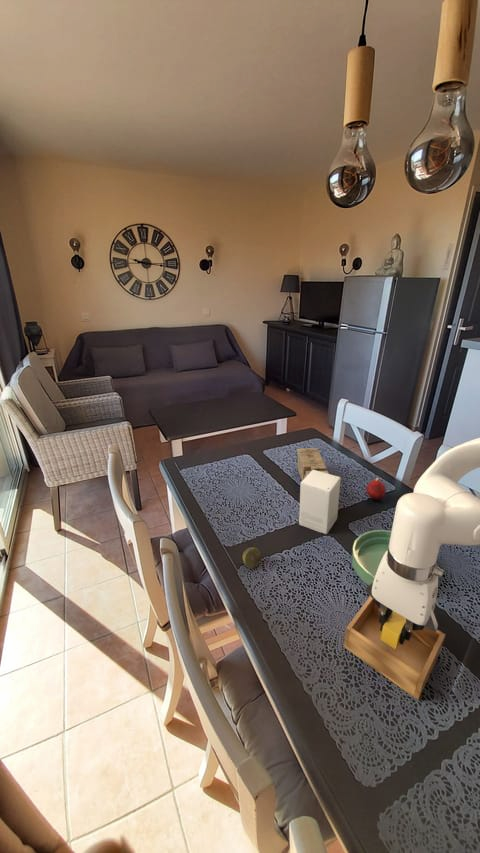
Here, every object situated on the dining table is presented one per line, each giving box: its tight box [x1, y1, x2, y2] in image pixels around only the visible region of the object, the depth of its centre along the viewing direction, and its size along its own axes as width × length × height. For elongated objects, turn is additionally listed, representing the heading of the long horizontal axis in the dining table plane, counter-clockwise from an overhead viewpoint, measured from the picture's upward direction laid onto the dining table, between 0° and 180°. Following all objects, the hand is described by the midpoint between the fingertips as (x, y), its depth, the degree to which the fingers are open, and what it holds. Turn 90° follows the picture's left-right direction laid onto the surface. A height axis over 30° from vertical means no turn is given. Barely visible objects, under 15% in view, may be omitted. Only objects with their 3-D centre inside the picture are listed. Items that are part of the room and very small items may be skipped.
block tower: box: [296, 447, 330, 482], centre depth 124 cm, size 8×8×29 cm
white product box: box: [298, 470, 342, 535], centre depth 106 cm, size 9×9×15 cm
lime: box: [242, 547, 262, 570], centre depth 93 cm, size 4×5×5 cm
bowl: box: [351, 529, 392, 586], centre depth 91 cm, size 19×19×4 cm
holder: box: [343, 595, 446, 701], centre depth 71 cm, size 15×12×6 cm
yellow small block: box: [380, 611, 406, 650], centre depth 70 cm, size 3×5×4 cm, turn 136°
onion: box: [365, 477, 386, 501], centre depth 117 cm, size 6×6×8 cm
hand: (394, 632), depth 70 cm, fingers closed on yellow small block, 3 cm apart
